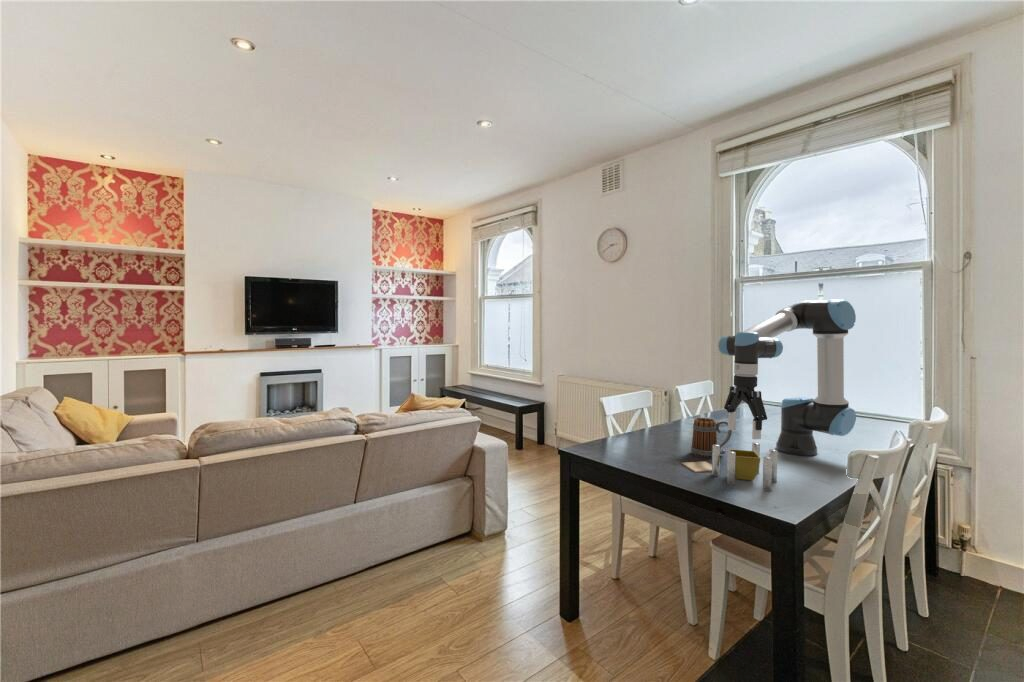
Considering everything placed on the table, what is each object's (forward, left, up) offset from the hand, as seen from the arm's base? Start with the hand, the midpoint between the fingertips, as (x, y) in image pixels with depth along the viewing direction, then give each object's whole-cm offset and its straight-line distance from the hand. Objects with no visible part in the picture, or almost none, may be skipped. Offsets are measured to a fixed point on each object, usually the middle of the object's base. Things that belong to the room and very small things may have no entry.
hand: (743, 434), depth 163 cm
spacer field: (0, +4, -16) cm, 16 cm away
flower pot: (0, 0, -16) cm, 16 cm away
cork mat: (+9, -13, -16) cm, 22 cm away
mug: (-4, -27, -16) cm, 32 cm away
